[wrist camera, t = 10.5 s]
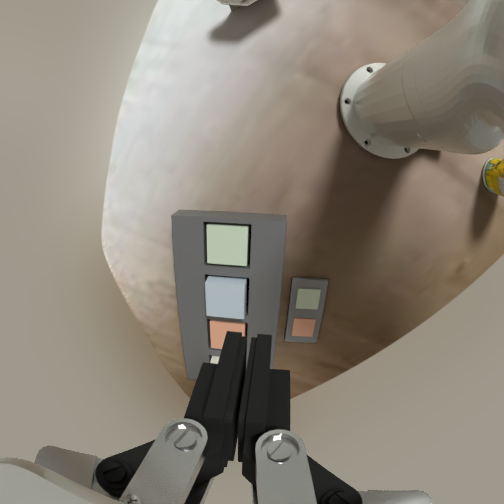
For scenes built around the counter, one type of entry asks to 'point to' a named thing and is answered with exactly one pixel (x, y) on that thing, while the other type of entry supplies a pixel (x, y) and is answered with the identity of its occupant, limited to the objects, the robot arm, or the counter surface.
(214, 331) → the terracotta key
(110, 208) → the counter surface
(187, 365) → the keyguard frame
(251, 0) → the platform
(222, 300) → the blue key
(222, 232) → the sage key
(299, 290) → the card
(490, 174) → the supplement bottle
